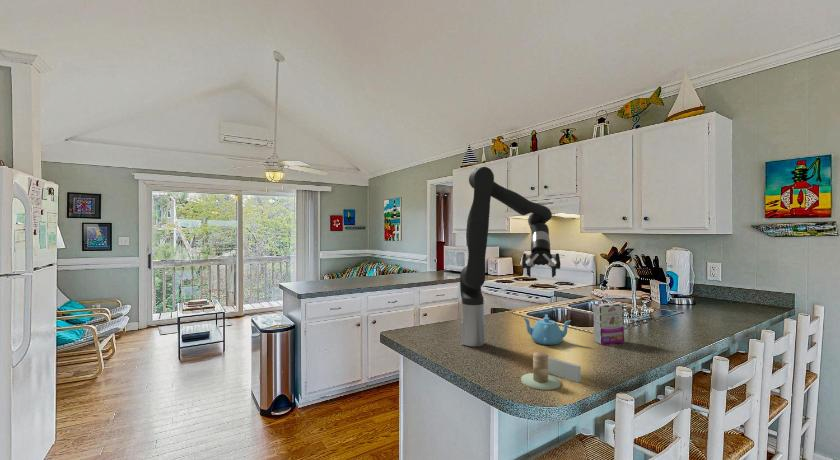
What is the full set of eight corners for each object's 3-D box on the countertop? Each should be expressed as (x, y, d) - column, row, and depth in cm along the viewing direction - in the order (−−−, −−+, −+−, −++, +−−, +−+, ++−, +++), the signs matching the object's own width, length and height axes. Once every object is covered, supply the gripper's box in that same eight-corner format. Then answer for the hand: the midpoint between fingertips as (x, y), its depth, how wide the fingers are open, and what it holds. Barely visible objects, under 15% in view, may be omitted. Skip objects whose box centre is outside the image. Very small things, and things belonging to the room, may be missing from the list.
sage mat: (520, 387, 114) (520, 385, 114) (521, 373, 125) (521, 371, 125) (562, 392, 110) (562, 389, 110) (559, 376, 122) (559, 375, 122)
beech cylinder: (532, 381, 116) (532, 356, 116) (533, 376, 121) (533, 351, 121) (548, 383, 115) (547, 357, 115) (548, 378, 119) (548, 353, 119)
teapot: (545, 348, 151) (544, 323, 151) (520, 339, 165) (520, 316, 165) (572, 344, 157) (571, 319, 157) (546, 335, 171) (546, 312, 171)
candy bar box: (616, 339, 162) (615, 302, 162) (624, 343, 157) (623, 304, 157) (593, 341, 159) (592, 303, 159) (601, 345, 154) (600, 305, 154)
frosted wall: (534, 368, 129) (533, 354, 129) (536, 367, 130) (536, 353, 130) (578, 382, 117) (578, 366, 117) (580, 381, 118) (580, 365, 118)
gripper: (522, 238, 153) (521, 269, 142) (559, 238, 148) (561, 269, 137) (522, 250, 158) (522, 281, 147) (558, 250, 153) (560, 282, 142)
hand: (541, 275), depth 142 cm, fingers open, 8 cm apart
